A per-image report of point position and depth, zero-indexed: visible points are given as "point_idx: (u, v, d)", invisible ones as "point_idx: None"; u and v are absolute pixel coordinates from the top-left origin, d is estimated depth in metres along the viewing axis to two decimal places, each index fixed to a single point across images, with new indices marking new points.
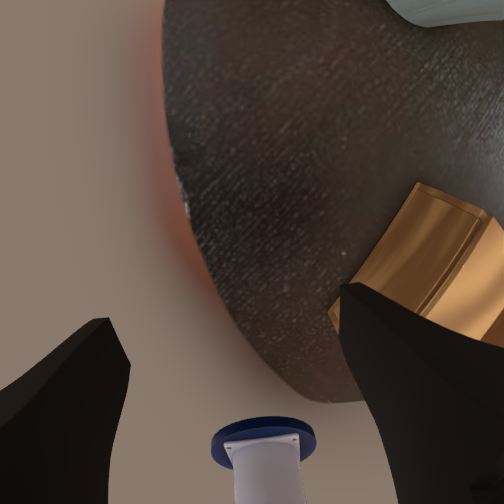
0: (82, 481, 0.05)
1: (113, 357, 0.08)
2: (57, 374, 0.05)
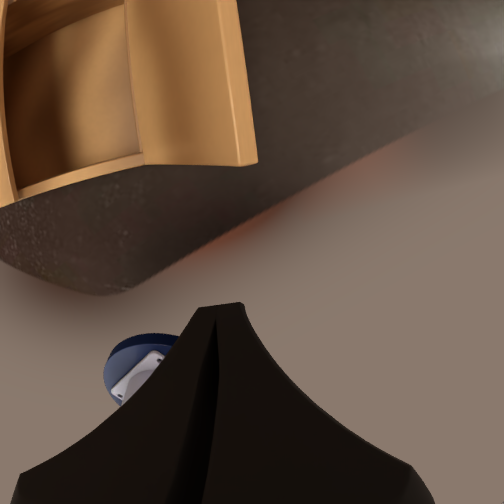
0: None
1: None
2: (201, 371, 0.05)
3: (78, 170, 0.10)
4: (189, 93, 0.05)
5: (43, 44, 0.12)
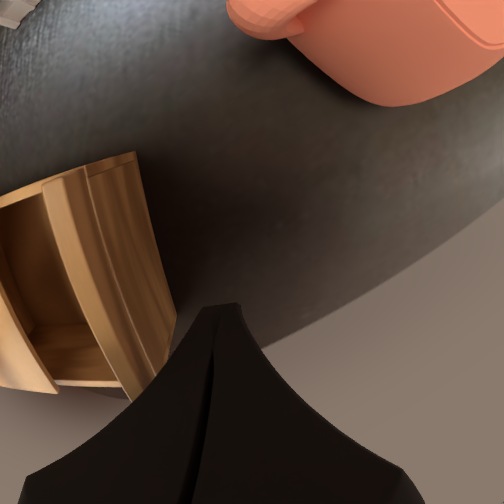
0: None
1: None
2: (208, 370, 0.05)
3: (104, 381, 0.14)
4: None
5: (27, 201, 0.15)
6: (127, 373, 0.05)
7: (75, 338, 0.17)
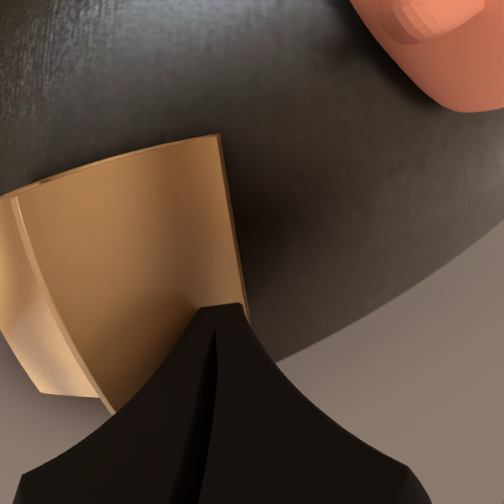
0: None
1: None
2: (203, 370, 0.05)
3: None
4: None
5: None
6: (85, 371, 0.05)
7: None
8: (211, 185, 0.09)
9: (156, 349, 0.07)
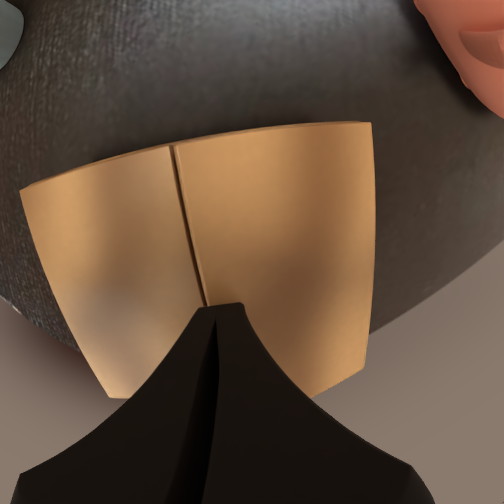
0: None
1: None
2: (201, 371, 0.05)
3: None
4: None
5: None
6: (201, 280, 0.08)
7: None
8: (359, 165, 0.09)
9: (269, 286, 0.09)
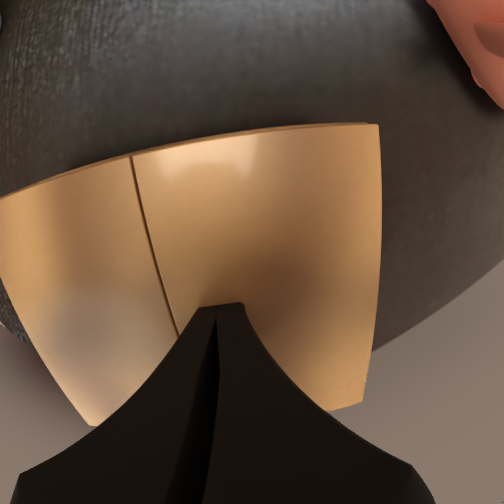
0: None
1: None
2: (200, 371, 0.05)
3: None
4: None
5: None
6: (164, 287, 0.08)
7: None
8: (358, 177, 0.07)
9: None
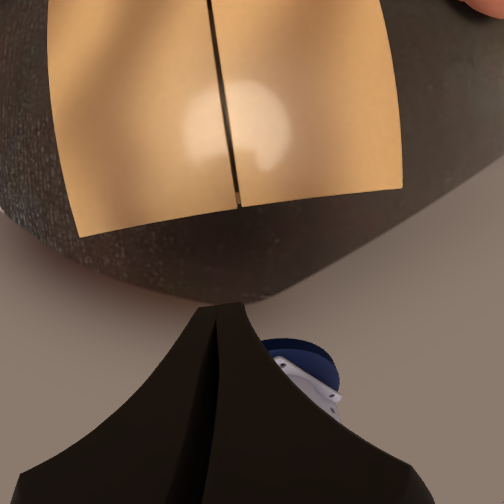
0: None
1: None
2: (201, 371, 0.05)
3: None
4: None
5: None
6: None
7: None
8: None
9: (271, 26, 0.08)
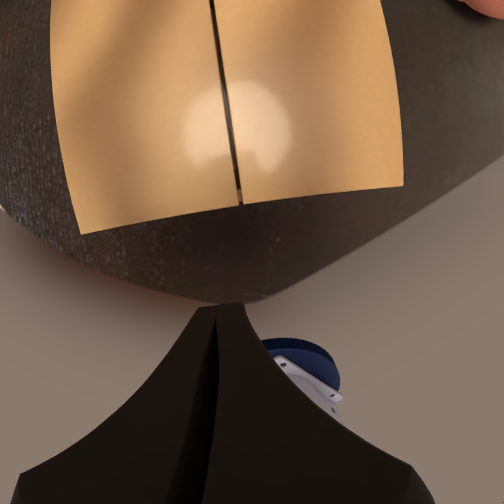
0: None
1: None
2: (201, 371, 0.05)
3: None
4: None
5: None
6: (215, 13, 0.08)
7: None
8: None
9: (273, 25, 0.08)
